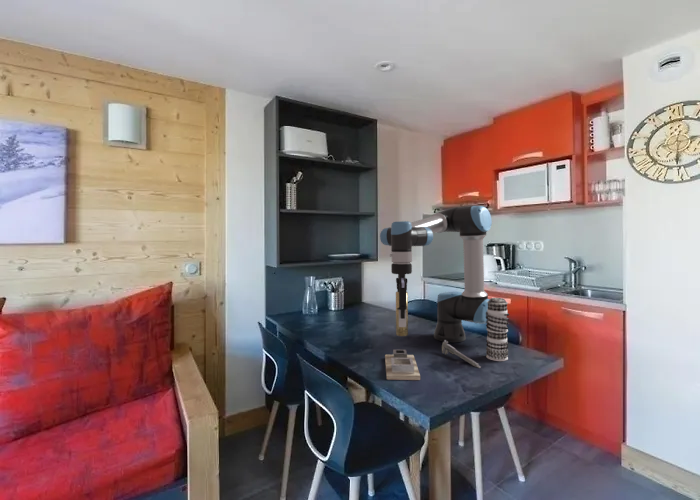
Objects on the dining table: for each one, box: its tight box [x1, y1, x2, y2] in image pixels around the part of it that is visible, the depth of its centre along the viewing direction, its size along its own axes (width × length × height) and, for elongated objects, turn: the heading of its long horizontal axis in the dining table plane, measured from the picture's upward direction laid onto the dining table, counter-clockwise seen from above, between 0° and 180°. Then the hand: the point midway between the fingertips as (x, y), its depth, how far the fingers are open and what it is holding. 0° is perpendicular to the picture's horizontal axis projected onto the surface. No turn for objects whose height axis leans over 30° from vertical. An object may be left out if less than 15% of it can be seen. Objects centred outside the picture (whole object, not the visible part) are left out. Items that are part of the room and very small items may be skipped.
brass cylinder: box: [395, 291, 409, 337], centre depth 131 cm, size 4×4×16 cm
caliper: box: [441, 340, 482, 369], centre depth 145 cm, size 20×1×6 cm, turn 29°
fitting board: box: [384, 349, 421, 381], centre depth 137 cm, size 22×12×4 cm, turn 176°
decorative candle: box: [485, 297, 510, 362], centre depth 147 cm, size 9×9×25 cm
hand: (401, 324), depth 132 cm, fingers closed on brass cylinder, 4 cm apart
